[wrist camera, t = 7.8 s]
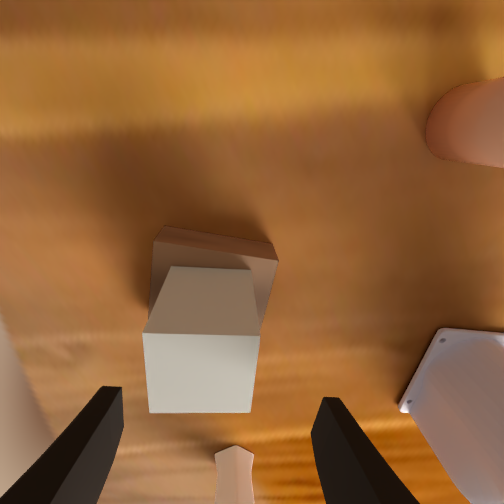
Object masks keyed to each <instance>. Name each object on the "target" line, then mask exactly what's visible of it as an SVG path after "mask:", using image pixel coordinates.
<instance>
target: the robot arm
mask: <svg viewBox="0 0 504 504" xmlns="http://www.w3.org/2000/svg"><path fill="white" fill-rule="evenodd" d="M398 408H399V410H400V411H401V412H403V413H410V415H411V416H412V418H413V420H414V421H415V423H416V424H417V426H418V427H419V429H420V431H421V432H422V434H423V435H424V437H425V439H426V440H427V442H428V443H429V445H430V447H431V448H432V450H433V451H434V453H435V455H436V456H437V458H438V459H439V461H440V462H441V464H442V466H443V467H444V469H445V470H446V472H447V474H448V475H449V477H450V478H451V480H452V481H453V483H454V484H455V486H456V487H457V488H458V489H459V491H460V492H461V493H462V494H463V495H464V496H465V497H466V498H467V499H468V500H469V501H470V502H471V503H472V504H504V333H498V332H487V331H475V330H464V329H452V328H441V329H439V330H438V331H437V333H436V335H435V336H434V338H433V340H432V342H431V344H430V346H429V348H428V350H427V352H426V354H425V355H424V357H423V359H422V361H421V363H420V365H419V367H418V369H417V371H416V373H415V374H414V376H413V378H412V380H411V382H410V384H409V386H408V388H407V390H406V391H405V393H404V395H403V397H402V399H401V401H400V403H399V405H398ZM123 428H124V420H123V401H122V387H111V386H102V387H101V388H100V389H99V390H98V391H97V392H96V394H95V395H94V396H93V397H92V399H91V400H90V401H89V402H88V403H87V405H86V406H85V407H84V408H83V409H82V411H81V412H80V413H79V414H78V415H77V416H76V418H75V419H74V420H73V421H72V422H71V423H70V424H69V426H68V427H67V428H66V429H65V430H64V431H63V432H62V433H61V435H60V436H59V437H58V438H57V439H56V440H55V441H54V442H53V443H52V444H51V446H50V447H49V448H48V449H47V450H46V451H45V452H44V454H42V455H41V457H40V458H39V459H38V460H37V461H36V462H35V463H34V464H33V465H32V466H31V467H30V468H29V469H28V470H27V471H26V472H25V473H24V474H23V475H22V476H21V477H20V478H19V479H18V480H17V481H16V482H15V483H14V484H13V485H12V487H10V488H9V490H8V491H7V492H6V493H5V494H4V495H3V496H2V497H1V498H0V504H96V503H97V501H98V499H99V496H100V494H101V491H102V489H103V486H104V484H105V481H106V479H107V476H108V474H109V471H110V469H111V466H112V464H113V461H114V458H115V455H116V451H117V448H118V445H119V441H120V438H121V435H122V431H123ZM311 438H312V445H313V451H314V457H315V462H316V467H317V471H318V475H319V479H320V482H321V486H322V490H323V494H324V497H325V501H326V504H420V503H419V502H418V501H417V500H416V498H415V497H414V496H413V495H412V494H411V492H410V491H409V490H408V489H407V487H406V486H405V485H404V484H403V483H402V481H401V480H400V479H399V478H398V476H397V475H396V474H395V473H394V471H393V470H392V469H391V467H390V466H389V465H388V464H387V462H386V461H385V460H384V458H383V457H382V456H381V454H380V453H379V452H378V450H377V449H376V448H375V447H374V445H373V444H372V442H371V441H370V440H369V438H368V437H367V436H366V434H365V433H364V432H363V430H362V429H361V427H360V426H359V425H358V423H357V422H356V420H355V419H354V418H353V416H352V415H351V413H350V412H349V411H348V409H347V408H346V406H345V405H344V404H343V402H342V401H341V400H340V398H335V397H323V400H322V402H321V405H320V408H319V411H318V414H317V416H316V419H315V422H314V425H313V428H312V430H311Z"/></svg>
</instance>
